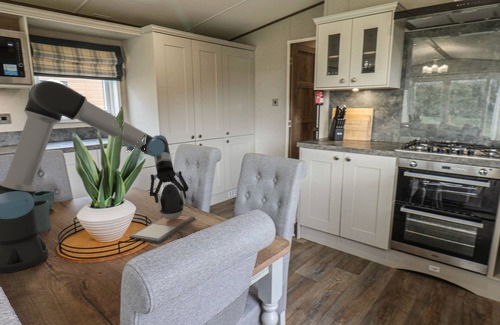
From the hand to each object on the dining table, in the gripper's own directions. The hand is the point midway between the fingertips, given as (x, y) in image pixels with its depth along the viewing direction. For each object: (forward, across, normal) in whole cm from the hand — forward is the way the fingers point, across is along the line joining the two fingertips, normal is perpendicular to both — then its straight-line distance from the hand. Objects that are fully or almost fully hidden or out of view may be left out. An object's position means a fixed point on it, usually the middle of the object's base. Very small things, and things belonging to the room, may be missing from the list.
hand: (172, 206), depth 131 cm
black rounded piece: (+2, 0, -6) cm, 7 cm away
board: (+7, +4, -5) cm, 9 cm away
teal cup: (-10, +54, -22) cm, 59 cm away
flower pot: (-32, +57, -44) cm, 79 cm away
